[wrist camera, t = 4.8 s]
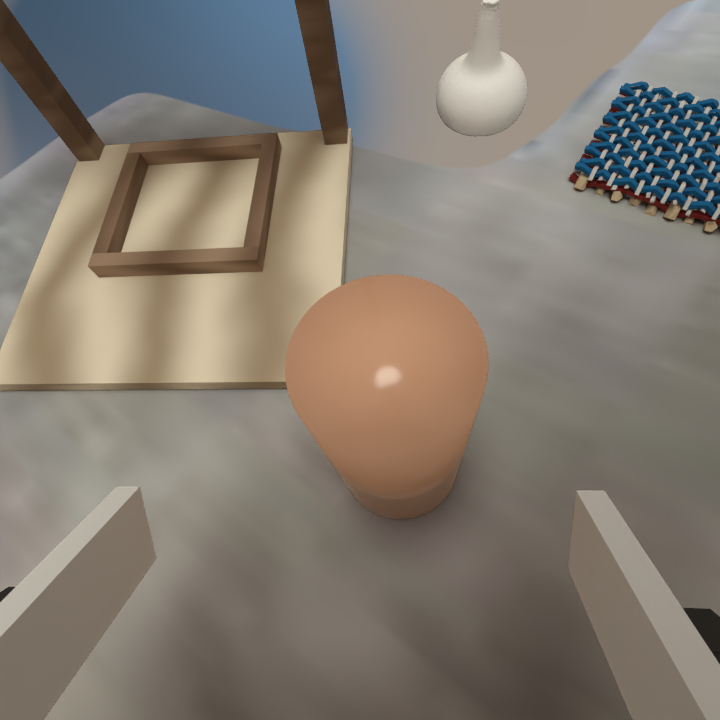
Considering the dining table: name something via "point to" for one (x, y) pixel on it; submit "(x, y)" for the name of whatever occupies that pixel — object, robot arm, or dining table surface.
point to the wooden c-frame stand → (181, 243)
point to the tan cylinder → (389, 388)
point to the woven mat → (658, 154)
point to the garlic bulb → (482, 82)
